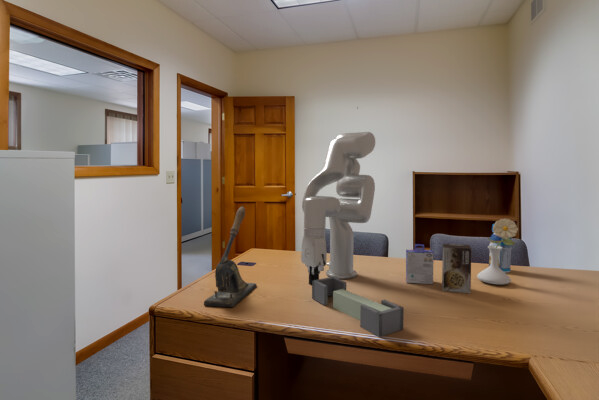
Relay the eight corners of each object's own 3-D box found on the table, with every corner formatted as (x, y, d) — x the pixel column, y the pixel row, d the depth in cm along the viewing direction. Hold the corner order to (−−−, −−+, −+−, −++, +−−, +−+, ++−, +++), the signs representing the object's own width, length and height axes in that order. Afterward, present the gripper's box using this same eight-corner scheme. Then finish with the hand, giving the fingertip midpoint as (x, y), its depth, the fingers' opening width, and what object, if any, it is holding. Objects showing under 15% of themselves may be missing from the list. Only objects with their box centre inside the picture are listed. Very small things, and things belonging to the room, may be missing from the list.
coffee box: (468, 288, 127) (469, 244, 125) (470, 294, 121) (472, 248, 119) (441, 285, 130) (442, 243, 128) (442, 291, 123) (443, 246, 122)
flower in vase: (472, 282, 133) (475, 218, 131) (481, 276, 141) (484, 215, 139) (512, 290, 124) (515, 221, 122) (519, 283, 132) (522, 218, 130)
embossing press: (200, 306, 110) (198, 212, 108) (233, 283, 133) (232, 205, 131) (232, 309, 108) (230, 213, 105) (260, 285, 130) (259, 206, 128)
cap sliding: (312, 298, 116) (312, 280, 116) (333, 293, 121) (333, 276, 120) (324, 305, 110) (324, 286, 110) (346, 299, 115) (346, 282, 114)
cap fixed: (360, 326, 95) (360, 305, 95) (384, 319, 99) (384, 299, 99) (378, 337, 89) (379, 314, 88) (403, 329, 93) (403, 307, 93)
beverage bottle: (511, 274, 144) (513, 226, 142) (487, 271, 148) (489, 225, 146) (510, 269, 151) (512, 223, 149) (488, 267, 155) (490, 222, 154)
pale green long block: (333, 308, 109) (333, 291, 108) (342, 305, 111) (342, 288, 110) (382, 332, 92) (382, 312, 92) (392, 328, 95) (392, 308, 94)
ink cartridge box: (431, 280, 136) (432, 244, 135) (433, 284, 131) (434, 246, 129) (405, 279, 138) (405, 243, 137) (406, 283, 133) (407, 245, 131)
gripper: (294, 230, 126) (294, 280, 127) (317, 236, 113) (316, 292, 114) (312, 229, 129) (311, 278, 130) (336, 235, 117) (335, 288, 117)
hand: (313, 284), depth 122 cm, fingers closed
